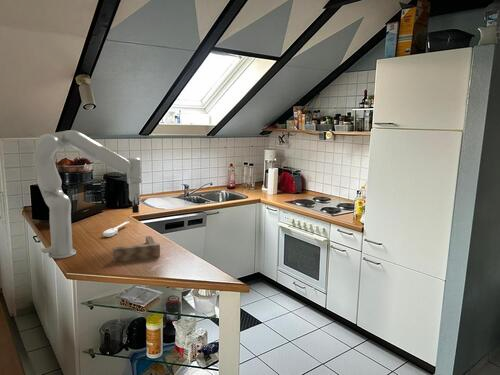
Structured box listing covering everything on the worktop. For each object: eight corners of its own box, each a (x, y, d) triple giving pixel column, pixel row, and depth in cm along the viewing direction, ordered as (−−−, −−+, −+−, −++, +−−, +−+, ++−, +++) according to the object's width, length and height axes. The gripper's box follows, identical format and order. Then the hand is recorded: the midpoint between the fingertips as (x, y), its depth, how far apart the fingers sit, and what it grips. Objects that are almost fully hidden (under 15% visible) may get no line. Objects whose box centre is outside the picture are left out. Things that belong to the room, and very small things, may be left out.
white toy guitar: (124, 225, 250) (124, 221, 250) (132, 226, 249) (132, 221, 249) (100, 237, 223) (100, 232, 223) (110, 238, 222) (109, 233, 222)
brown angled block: (113, 262, 185) (113, 249, 184) (109, 246, 209) (109, 234, 208) (159, 257, 194) (159, 244, 193) (151, 241, 218) (151, 230, 216)
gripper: (125, 178, 217) (127, 210, 221) (128, 182, 204) (130, 216, 207) (139, 177, 220) (140, 209, 224) (143, 181, 207) (144, 215, 210)
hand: (135, 212), depth 215 cm, fingers closed
